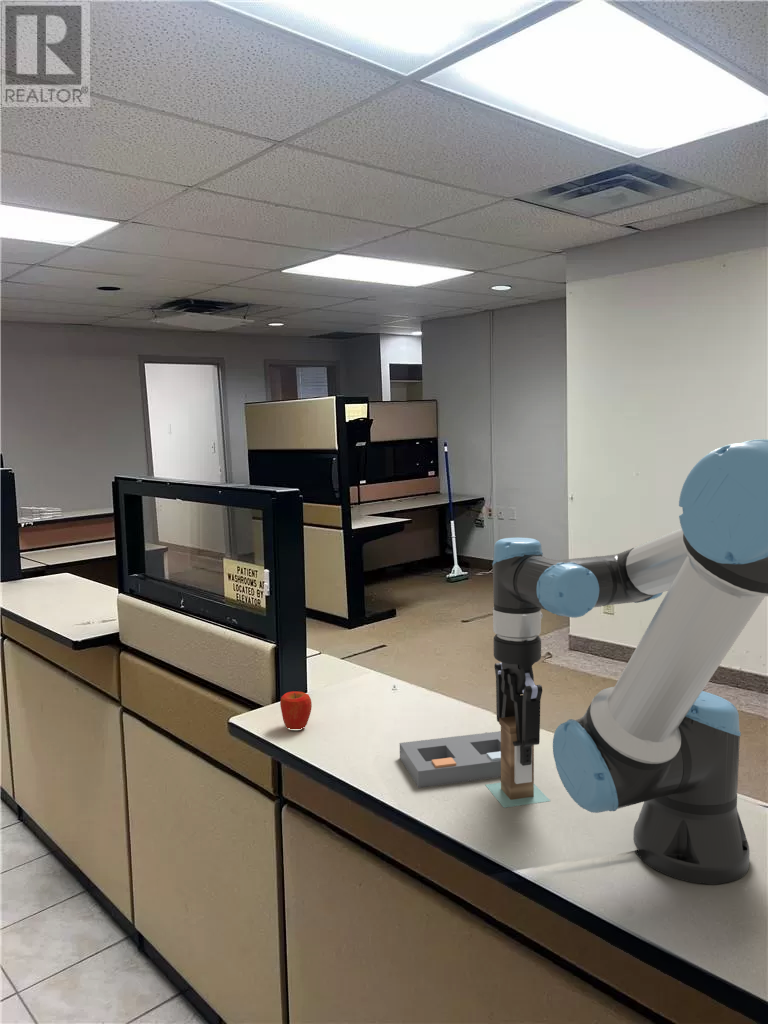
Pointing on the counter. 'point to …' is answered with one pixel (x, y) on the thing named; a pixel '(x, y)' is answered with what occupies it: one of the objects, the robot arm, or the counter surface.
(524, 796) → the plug
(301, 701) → the apple
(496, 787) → the plate
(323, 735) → the counter surface
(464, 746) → the port box
